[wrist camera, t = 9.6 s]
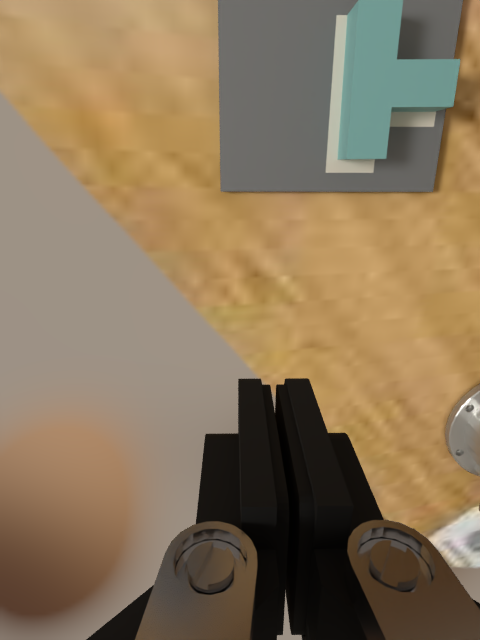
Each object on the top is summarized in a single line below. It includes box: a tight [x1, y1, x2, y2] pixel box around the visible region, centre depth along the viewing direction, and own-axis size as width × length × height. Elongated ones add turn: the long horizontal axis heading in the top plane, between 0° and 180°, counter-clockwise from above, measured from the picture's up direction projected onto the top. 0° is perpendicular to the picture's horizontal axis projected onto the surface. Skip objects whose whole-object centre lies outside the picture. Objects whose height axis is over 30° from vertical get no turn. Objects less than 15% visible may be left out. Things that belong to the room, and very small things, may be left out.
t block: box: [337, 0, 460, 160], centre depth 31 cm, size 10×8×3 cm
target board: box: [218, 0, 463, 192], centre depth 33 cm, size 14×18×1 cm
